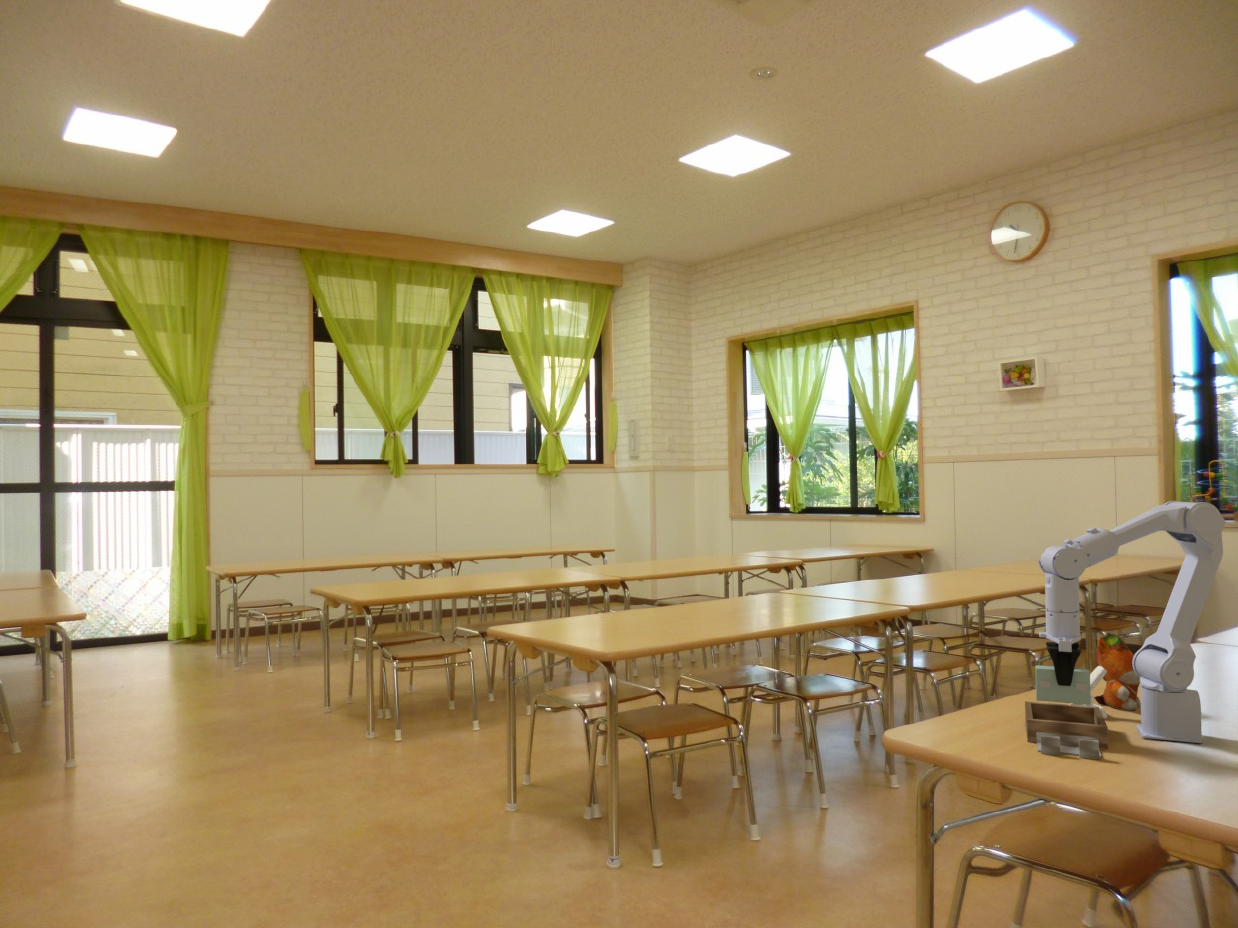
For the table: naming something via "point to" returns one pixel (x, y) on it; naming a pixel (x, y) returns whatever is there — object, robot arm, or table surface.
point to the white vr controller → (1094, 680)
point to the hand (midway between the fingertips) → (1063, 683)
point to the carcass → (1066, 729)
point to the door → (1064, 694)
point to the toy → (1117, 674)
